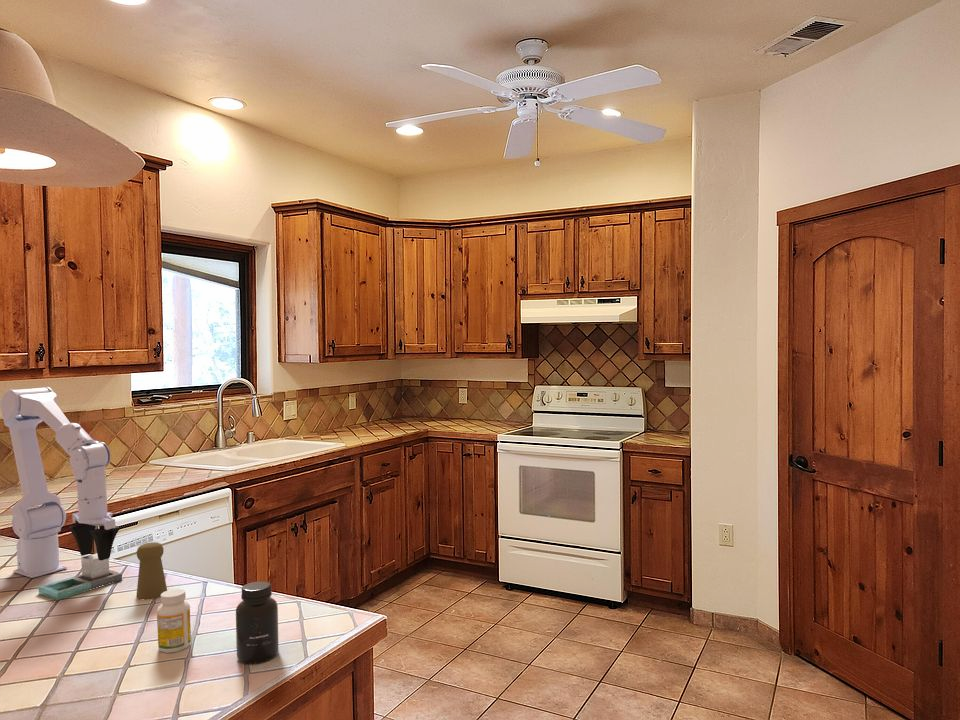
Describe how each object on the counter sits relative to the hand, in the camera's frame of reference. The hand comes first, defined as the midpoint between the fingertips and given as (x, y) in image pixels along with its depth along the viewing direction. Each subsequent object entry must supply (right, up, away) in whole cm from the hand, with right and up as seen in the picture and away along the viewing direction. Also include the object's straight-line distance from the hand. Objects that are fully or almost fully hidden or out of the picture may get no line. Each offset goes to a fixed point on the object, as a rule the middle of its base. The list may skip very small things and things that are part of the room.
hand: (95, 556), depth 156 cm
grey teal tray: (-2, -6, -3) cm, 7 cm away
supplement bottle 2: (+50, -6, -39) cm, 64 cm away
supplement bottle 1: (+34, -6, -35) cm, 49 cm away
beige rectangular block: (0, -6, 0) cm, 6 cm away
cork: (+17, -6, -9) cm, 20 cm away
